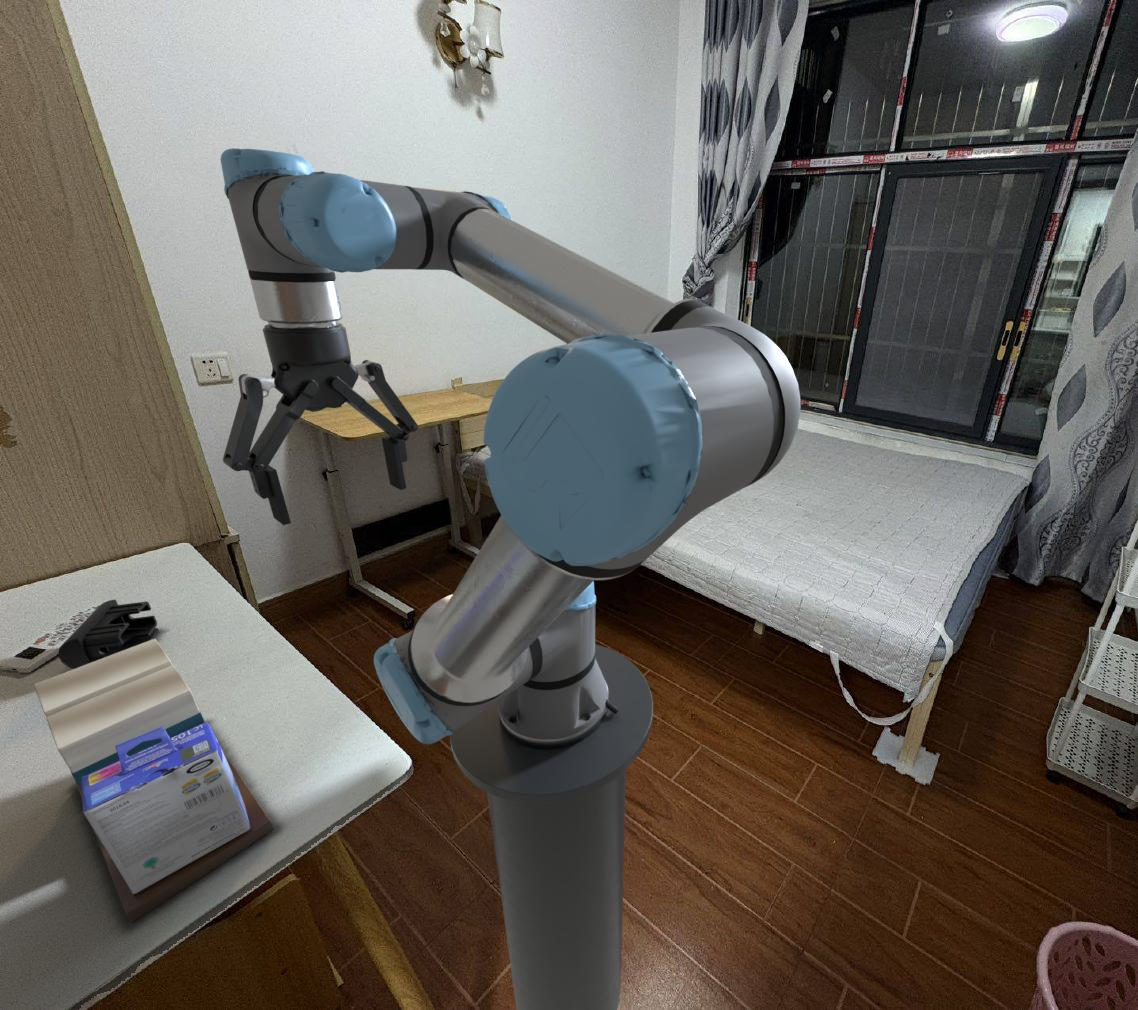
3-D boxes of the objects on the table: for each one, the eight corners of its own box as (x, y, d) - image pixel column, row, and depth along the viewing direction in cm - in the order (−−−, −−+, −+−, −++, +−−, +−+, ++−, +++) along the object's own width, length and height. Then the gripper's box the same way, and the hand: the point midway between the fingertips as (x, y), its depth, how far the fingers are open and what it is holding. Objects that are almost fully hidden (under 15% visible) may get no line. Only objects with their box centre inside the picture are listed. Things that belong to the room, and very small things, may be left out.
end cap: (107, 636, 87) (89, 601, 84) (162, 628, 90) (147, 594, 87) (69, 679, 79) (49, 642, 76) (131, 670, 81) (113, 633, 78)
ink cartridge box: (242, 795, 63) (202, 702, 57) (255, 828, 60) (214, 733, 53) (126, 856, 56) (66, 758, 50) (132, 897, 53) (70, 797, 47)
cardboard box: (274, 829, 61) (234, 729, 54) (131, 923, 52) (63, 817, 46) (204, 724, 73) (164, 632, 67) (79, 786, 64) (18, 687, 58)
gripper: (399, 312, 69) (422, 467, 78) (139, 326, 51) (210, 526, 60) (432, 319, 65) (453, 482, 74) (164, 337, 47) (235, 550, 56)
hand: (344, 502), depth 67 cm, fingers open, 13 cm apart
